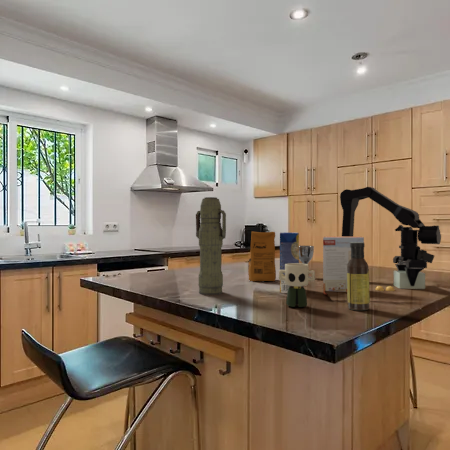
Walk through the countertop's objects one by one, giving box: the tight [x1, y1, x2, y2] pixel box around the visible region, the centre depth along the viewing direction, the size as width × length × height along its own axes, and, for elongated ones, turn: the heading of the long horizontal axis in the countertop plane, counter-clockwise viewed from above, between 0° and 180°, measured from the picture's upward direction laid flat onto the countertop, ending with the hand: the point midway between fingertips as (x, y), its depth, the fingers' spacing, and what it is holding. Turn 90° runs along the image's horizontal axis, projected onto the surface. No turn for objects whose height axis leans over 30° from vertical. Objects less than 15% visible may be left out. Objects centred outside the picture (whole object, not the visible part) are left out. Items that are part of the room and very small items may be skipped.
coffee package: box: [247, 231, 277, 282], centre depth 171 cm, size 10×12×22 cm
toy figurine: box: [278, 262, 316, 308], centre depth 116 cm, size 11×7×13 cm, turn 80°
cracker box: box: [322, 235, 365, 296], centre depth 137 cm, size 14×6×21 cm, turn 74°
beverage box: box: [279, 232, 300, 294], centre depth 144 cm, size 7×11×22 cm, turn 170°
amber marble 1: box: [374, 285, 385, 292], centre depth 137 cm, size 3×3×3 cm
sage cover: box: [393, 270, 426, 290], centre depth 144 cm, size 9×7×6 cm
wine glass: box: [299, 245, 315, 278], centre depth 179 cm, size 8×8×15 cm
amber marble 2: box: [385, 285, 396, 292], centre depth 137 cm, size 3×3×3 cm
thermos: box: [195, 196, 227, 296], centre depth 140 cm, size 9×12×35 cm
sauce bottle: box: [346, 242, 371, 312], centre depth 113 cm, size 6×6×20 cm
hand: (408, 284), depth 144 cm, fingers closed on sage cover, 7 cm apart
